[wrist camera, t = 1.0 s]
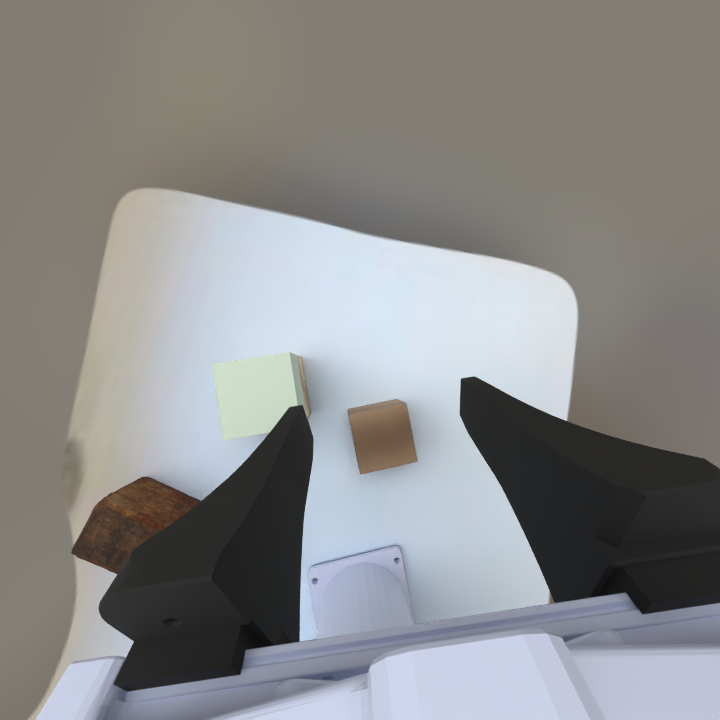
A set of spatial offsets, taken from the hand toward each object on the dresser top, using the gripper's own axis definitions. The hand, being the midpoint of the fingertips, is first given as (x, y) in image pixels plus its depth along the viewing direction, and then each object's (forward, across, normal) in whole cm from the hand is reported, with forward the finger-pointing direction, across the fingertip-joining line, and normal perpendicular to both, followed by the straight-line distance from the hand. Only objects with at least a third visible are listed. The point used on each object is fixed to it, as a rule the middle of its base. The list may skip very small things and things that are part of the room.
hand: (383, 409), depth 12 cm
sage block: (+8, +8, +3) cm, 12 cm away
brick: (+5, +17, +12) cm, 21 cm away
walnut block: (+8, 0, +9) cm, 12 cm away
